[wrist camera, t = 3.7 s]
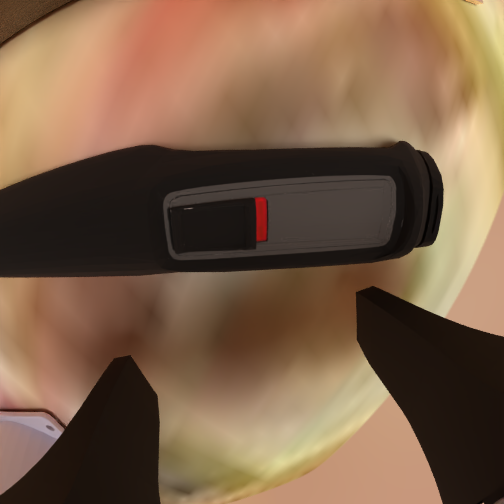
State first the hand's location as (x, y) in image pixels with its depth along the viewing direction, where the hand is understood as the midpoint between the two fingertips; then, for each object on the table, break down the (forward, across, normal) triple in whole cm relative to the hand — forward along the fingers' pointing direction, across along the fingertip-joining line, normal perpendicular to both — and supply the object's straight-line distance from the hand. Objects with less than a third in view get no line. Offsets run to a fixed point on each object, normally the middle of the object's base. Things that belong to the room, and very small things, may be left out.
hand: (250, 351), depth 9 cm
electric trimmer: (+2, 0, -4) cm, 5 cm away
